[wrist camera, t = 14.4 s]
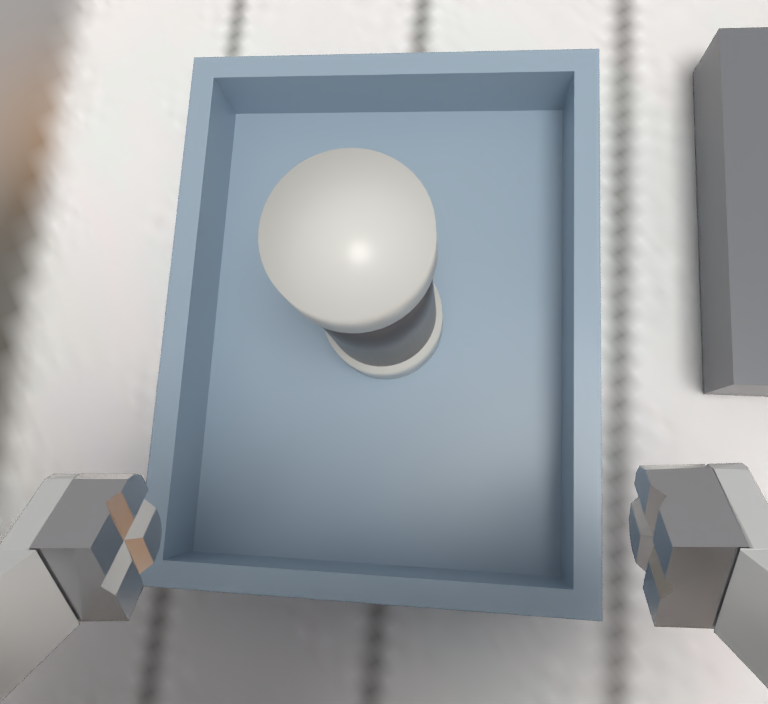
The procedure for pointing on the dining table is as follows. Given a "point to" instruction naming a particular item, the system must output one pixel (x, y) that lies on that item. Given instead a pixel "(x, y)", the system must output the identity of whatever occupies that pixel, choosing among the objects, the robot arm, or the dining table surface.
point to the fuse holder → (733, 210)
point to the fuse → (357, 257)
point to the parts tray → (400, 395)
